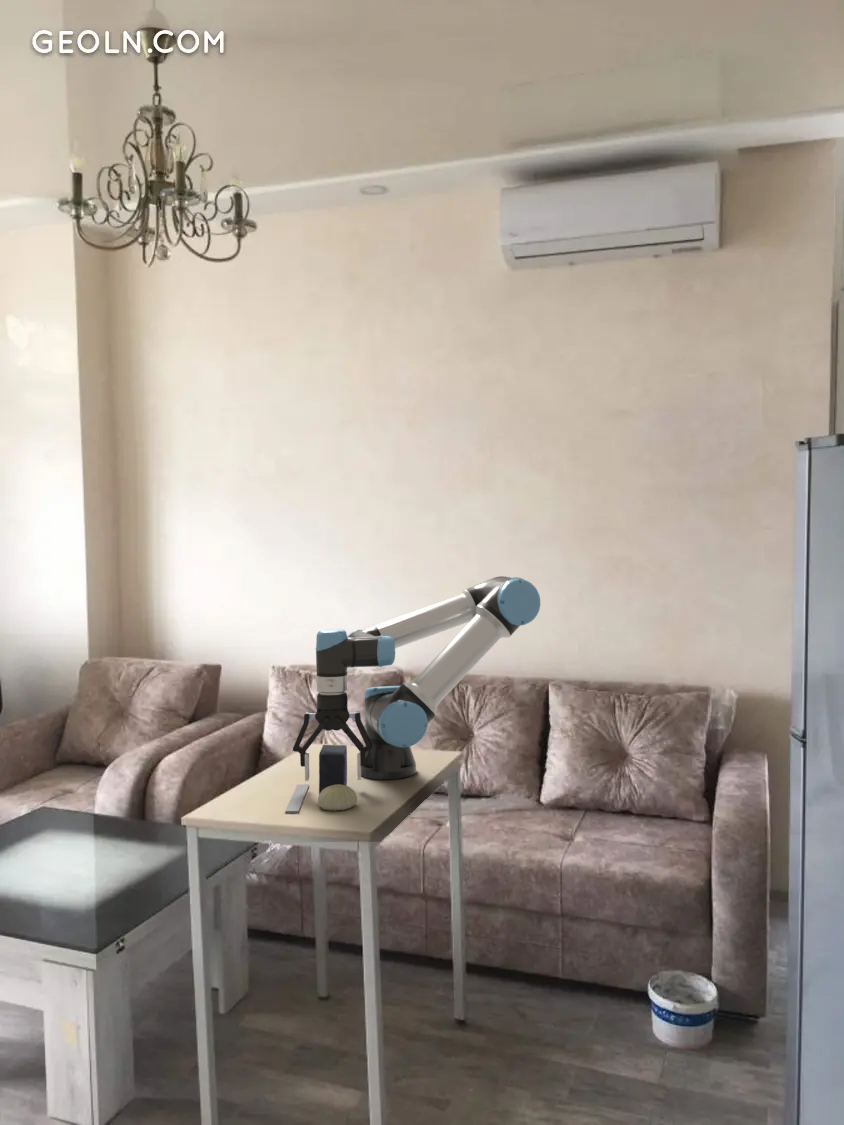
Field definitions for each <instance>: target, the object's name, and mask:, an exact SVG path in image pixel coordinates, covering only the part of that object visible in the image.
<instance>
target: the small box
mask: <svg viewBox="0 0 844 1125" xmlns="http://www.w3.org/2000/svg"><path fill="white" fill-rule="evenodd" d="M318 768H319V769H318V795H319V794H320V793H321V791H322V790H323V789H325V788H326V787H328V786H331V785H338V784H341V785H345V786H347V787H348V749H347V745H346V744H345V745H343V744H342V745H340V744H337V745H336V744H323V745H322V747H321V749H320V751H319V754H318Z"/></svg>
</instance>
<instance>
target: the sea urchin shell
mask: <svg viewBox="0 0 844 1125" xmlns="http://www.w3.org/2000/svg"><path fill="white" fill-rule="evenodd" d="M357 802H358V796H357V793H356V792H355V790H354V789H352V788H351V787H349V786H348V785H347V786H345V785H341V784H338V785H331V786H328V787H326V788H325V789H323V790H322V791H321V793H320V794H319V793H318V797H317V803H318V806H319V807H320V808H321V809H323V810H326V811H336V810H338V811H339V810H342V811H346V810H349V809H352V808H353V807H354V806H356V804H357ZM336 812H337V811H336Z"/></svg>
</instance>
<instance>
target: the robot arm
mask: <svg viewBox="0 0 844 1125" xmlns="http://www.w3.org/2000/svg"><path fill="white" fill-rule="evenodd" d="M540 609H541V597H540V593H539V592H538V590H537V588H536V586H535V585H533V584H532V583H531V582H530V581H529V580H526V579H524V578H521V577H516V576H515V577H510V576H505V575H504V576H503V575H502V576H496V577H492V578H490V579H487V580H485V581H482V582H480V583H477V584H475V585H473V586H471V587H468V588H465V589H463V590H462V592H461V594H460V595H457V596H454V597H451V598H448V599H445V600H443V601H440V602H437V603H435V604H431V605H429V606H426V607H423V608H420V609H417V610H414V611H413V612H410V613H406V614H404V615H403V614H402V615H401V616H398V617H395V618H392V619H390V620H388V621H385V622H382V623H379V624H375V625H373V626H370V627H368V628H364V629H356V630H352V631H351V632H350V633H348V634H347V631H346V630H344V629H338V628H335V629H334V628H327V629H321V630H319V631H318V632H317V633H316V644H315V662H316V667H315V668H316V692H318V693H317V694H316V712H314V713H312V712H309V711H305V713H304V714H303V724H302V726H301V729H300V730H299V733H298V736H297V738H296V740H295V742H294V745H293V747H292V751H293V752H297V753H298V754H299V757H300V758H299V759H300V761H299V762H300V767H304V781H305V782H309V779H310V751H308V749H309V748H310V746H311V745H312V744H313V743H314V741H315V740H316V739H317V737H318V736H319V735H320V733H321V732H322V731H323V730H324V731H328V732H329V731H336V732H337V731H340V730H342V732H343V733H344V734H345V735H346V736H347V737H348V738H349V740H350V741H351V742H352V743H353V745H354V746H355V747H356V748H357V749H358V751H357V753H356V756H357V757H356V760H357V762H356V763H357V769H356V770H357V771H356V772H357V781H361V780H362V777H364V778H367V779H373V780H398V779H404V778H409V777H412V776H414V775H415V774H416V773H417V763H416V759H415V757H414V754H413V751H412V749H411V748H412V746H414V745H417V744H418V743H419V742H420V741H421V740H422V739H423V738H424V736H425V734H426V733H427V730H428V726H429V725H428V724H430V722H431V721H432V720H433V719H434V718H435V717H436V716H437V707H438V705H439V704H440V703H441V702H442V701H443V700H444V699H445V697H447V696H448V694H449V693H450V692H452V690H453V689H454V688H456V686H457V685H458V683H460V682H461V681H462V679H464V677H466V675H467V674H468V673H469V672H470V671H471V670H472V669H473V668H474V667H475V666H476V665H477V663H478V662H480V660H481V659H482V658H483V657H484V656H485V655H486V654H487V653H488V652H489V651H490V650H491V649H492V648H493V646H494V645H495V644H496V643H497V642H499V641H500V639H503V638H510V637H511V636H512V635H513V634H514V633H515V632H516V631H517V630H518V629H519V627H521V626H525V625H527V624H529V623H532V622H533V621H534V620H535V619H536V617H537V616H538V614H539V612H540ZM464 624H466V625H465V626H464V627H463V628H462V629H461V630H460V631H459V633H458V634H456V636H454V637H453V638H452V640H451V641H450V642H449V643H448V644H447V645H446V646H445V647H444V648H443V649H442V650H441V651H440V652H439V653H438V654H437V655H436V657H434V658H433V660H431V662H430V663H429V664H427V666H426V667H425V668H424V669H423V670H422V671H421V672H420V673H419V675H418V676H417V677H416V678H415V679H414V680H412V681H410V682H402V684H400V685H388V686H387V685H386V686H373V687H372V686H371V687H368V688H366V689H365V691H364V698H363V702H364V724H363V722H362V718H361V717H362V716H361V712H360V710H359V711H357V710H356V711H355V712H349V709H348V706H349V705H348V693H347V692H346V691H348V668H367V667H368V668H369V667H380V668H381V667H387V666H392V665H393V664H394V663H395V659H396V649H398V648H400V647H403V646H406V645H409V644H411V643H414V642H417V641H419V640H422V639H426V638H428V637H430V636H434V635H437V634H439V633H443V632H445V631H447V630H449V629H450V630H451V629H454V628H456V627H458V626H461V625H464ZM314 719H315V720H316V721H317V723H318V725H317V726H316V728H315V730H314V731H313V732H312V734H311V735H310V736H309V737H308V739H307V740H306V742H304V744H303V746H300V745H301V743H302V741H303V738H304V736H305V734H306V732H307V729H308V727H309V724H310V723H311V722H313V720H314ZM349 719H351V720H352V722H355V724H356V728H357V730H358V732H359V734H360V736H361V738H362V740H363V742H364V744H365V745H364V744H363V743H362V741H360V739H359V738H358V736H357V735H356V734H355V732H354V731H353V730H352V729H351V728H350V726H349V725H348V724H347V722H348V720H349ZM414 773H415V774H414ZM413 774H414V775H413ZM411 775H412V776H411ZM408 776H409V777H408Z"/></svg>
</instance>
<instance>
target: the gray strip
mask: <svg viewBox="0 0 844 1125" xmlns="http://www.w3.org/2000/svg"><path fill="white" fill-rule="evenodd" d="M309 788H310V784H307V783H305V784H296V786H295V789H294V791H293V793H292V795H291V797H290V799H289V801H288V804H287V806H286V809H285V811H284V812H285V814H299V813H300V810H301V809H302V806H301V805H303V803H304V801H303V800H305V798H306V796H307V793H308V791H309ZM306 792H307V793H306Z"/></svg>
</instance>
